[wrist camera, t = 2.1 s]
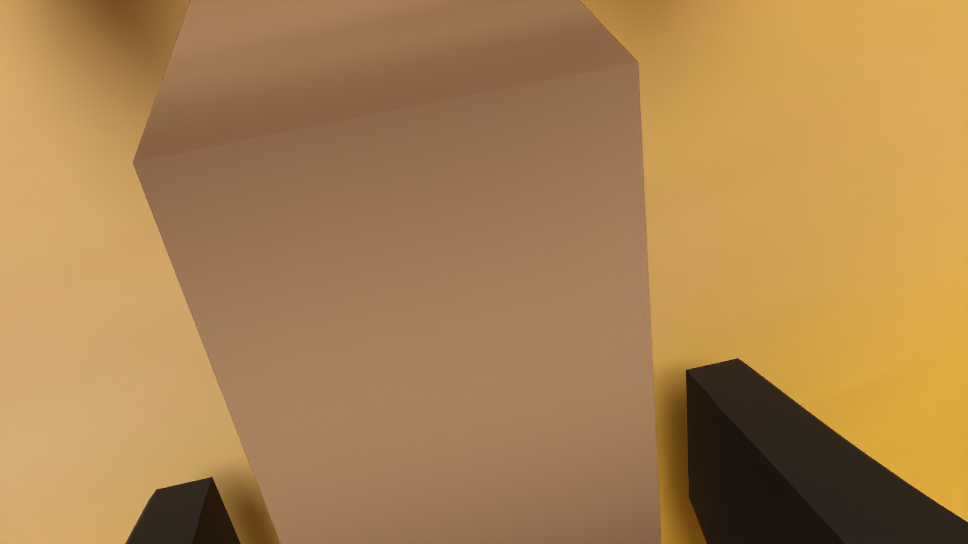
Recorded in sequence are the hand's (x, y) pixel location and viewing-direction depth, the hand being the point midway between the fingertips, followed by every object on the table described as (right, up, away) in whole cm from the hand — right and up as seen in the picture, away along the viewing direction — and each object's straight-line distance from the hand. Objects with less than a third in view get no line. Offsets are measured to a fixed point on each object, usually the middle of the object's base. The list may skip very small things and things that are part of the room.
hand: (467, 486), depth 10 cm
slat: (0, +2, +1) cm, 2 cm away
